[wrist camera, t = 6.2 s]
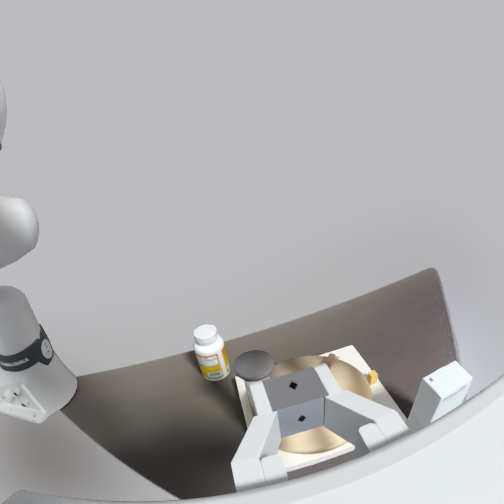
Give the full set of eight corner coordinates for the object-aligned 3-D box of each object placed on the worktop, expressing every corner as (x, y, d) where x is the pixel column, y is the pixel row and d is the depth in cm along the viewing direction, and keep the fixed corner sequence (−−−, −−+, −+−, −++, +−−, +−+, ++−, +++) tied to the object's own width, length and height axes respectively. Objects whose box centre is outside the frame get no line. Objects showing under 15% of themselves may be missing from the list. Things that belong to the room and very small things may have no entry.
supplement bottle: (217, 358, 58) (206, 318, 54) (236, 369, 54) (227, 328, 50) (196, 373, 54) (183, 333, 50) (215, 386, 51) (202, 345, 47)
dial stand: (260, 478, 33) (257, 468, 31) (236, 382, 51) (233, 369, 49) (406, 426, 35) (411, 413, 34) (351, 350, 54) (352, 336, 52)
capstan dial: (261, 470, 32) (244, 409, 27) (237, 378, 50) (221, 310, 44) (392, 425, 35) (413, 353, 29) (341, 350, 52) (342, 281, 47)
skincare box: (416, 450, 31) (440, 399, 26) (402, 431, 35) (420, 377, 30) (447, 431, 32) (474, 377, 27) (433, 413, 36) (454, 358, 31)
